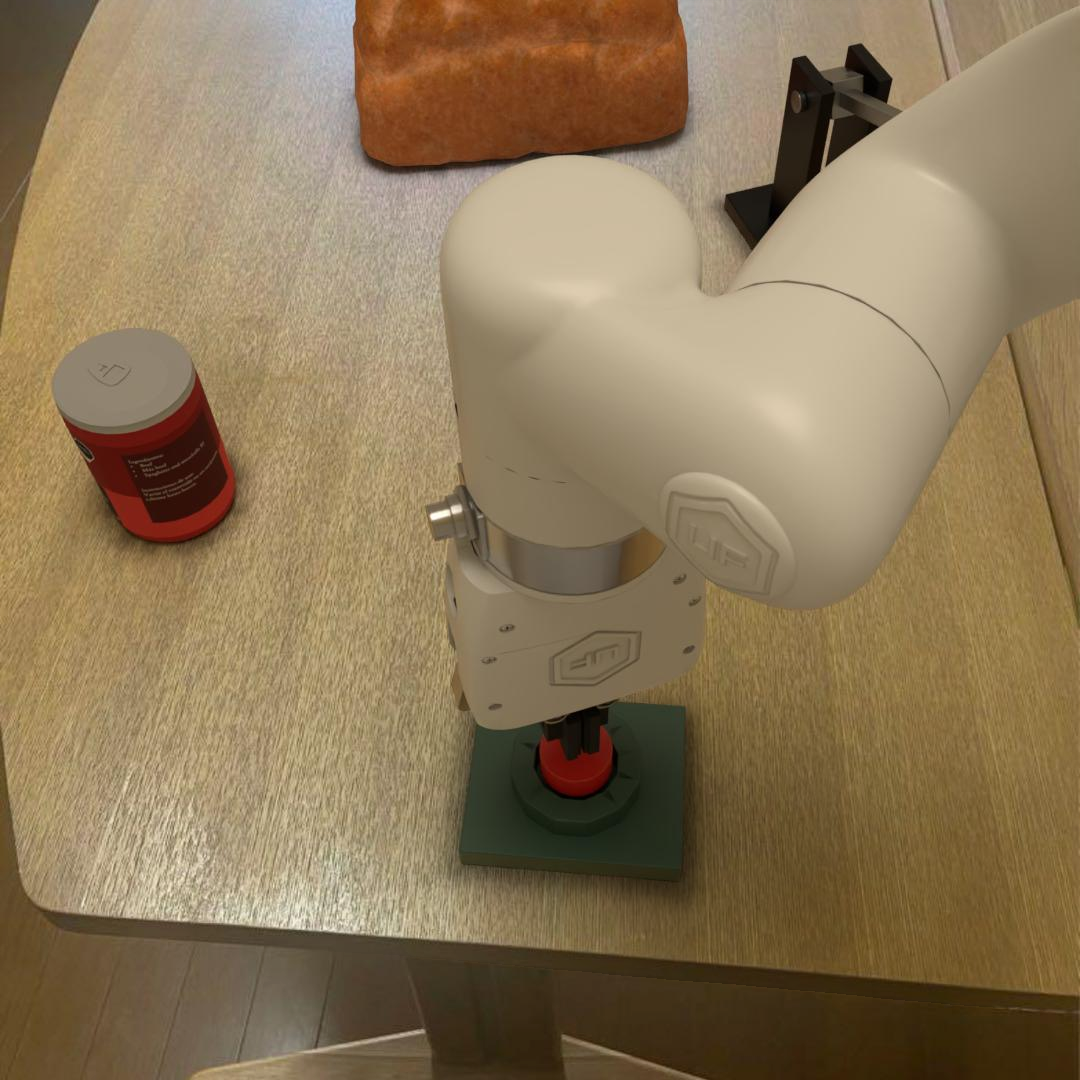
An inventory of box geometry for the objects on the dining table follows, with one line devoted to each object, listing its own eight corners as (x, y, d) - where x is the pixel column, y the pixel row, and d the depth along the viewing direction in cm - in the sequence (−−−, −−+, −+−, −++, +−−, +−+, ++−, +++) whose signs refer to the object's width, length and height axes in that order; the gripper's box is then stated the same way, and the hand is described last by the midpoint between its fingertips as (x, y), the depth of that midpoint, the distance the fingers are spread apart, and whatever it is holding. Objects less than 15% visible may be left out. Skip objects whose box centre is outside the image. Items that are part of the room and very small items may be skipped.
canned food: (141, 443, 78) (84, 318, 69) (256, 460, 77) (214, 335, 68) (92, 536, 73) (24, 415, 64) (213, 555, 72) (162, 435, 63)
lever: (1021, 176, 66) (1026, 132, 65) (941, 196, 65) (944, 152, 64) (860, 98, 80) (862, 61, 79) (792, 113, 79) (792, 77, 78)
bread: (359, 81, 101) (327, -106, 89) (666, 52, 103) (677, -136, 90) (363, 182, 93) (329, -8, 81) (696, 150, 94) (713, -42, 82)
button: (614, 734, 61) (614, 718, 59) (609, 799, 59) (610, 784, 57) (543, 729, 61) (542, 713, 60) (537, 794, 59) (536, 779, 58)
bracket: (900, 271, 85) (947, 100, 74) (785, 300, 84) (815, 130, 73) (831, 181, 92) (866, 10, 80) (723, 206, 90) (743, 37, 79)
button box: (683, 720, 65) (688, 689, 62) (679, 881, 59) (684, 855, 57) (483, 706, 66) (478, 675, 63) (461, 864, 60) (455, 837, 57)
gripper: (392, 637, 39) (443, 849, 54) (809, 519, 41) (747, 753, 56) (343, 470, 43) (403, 709, 58) (724, 372, 46) (688, 625, 61)
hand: (572, 730), depth 57 cm, fingers closed
